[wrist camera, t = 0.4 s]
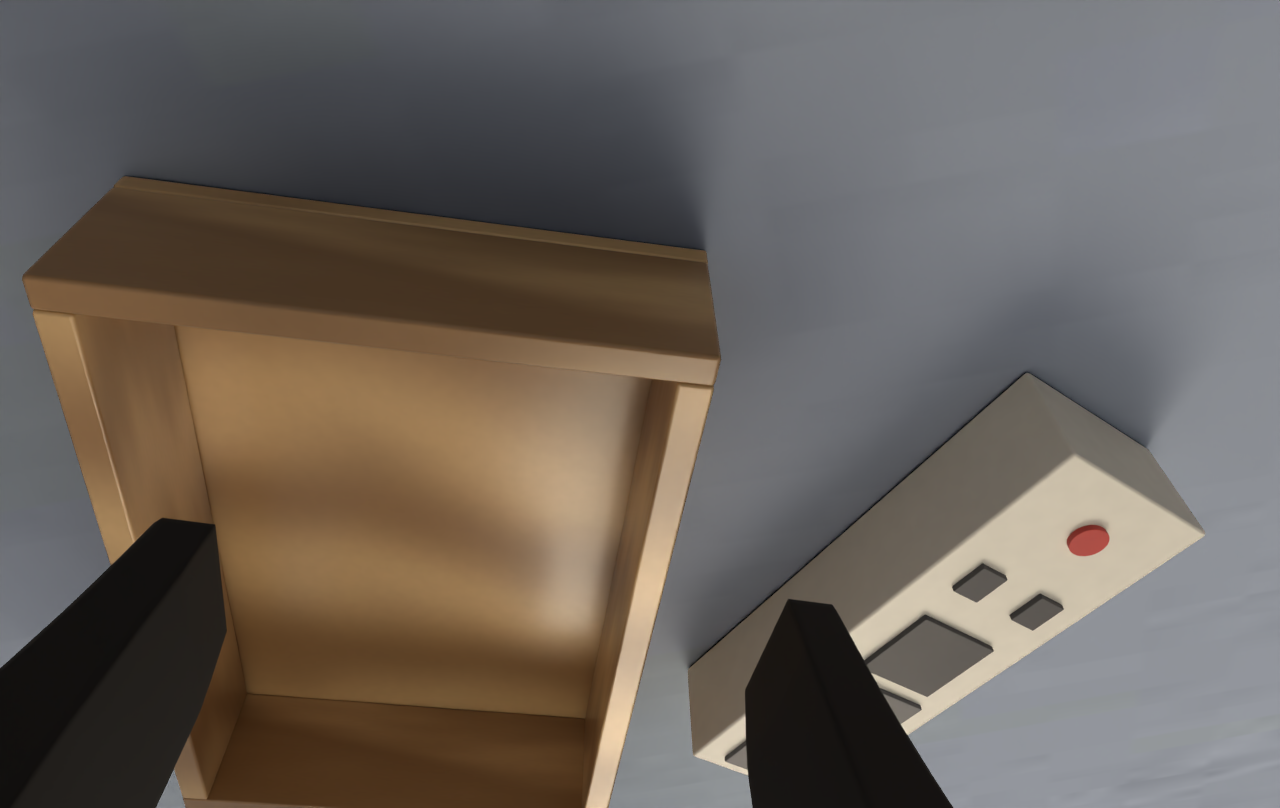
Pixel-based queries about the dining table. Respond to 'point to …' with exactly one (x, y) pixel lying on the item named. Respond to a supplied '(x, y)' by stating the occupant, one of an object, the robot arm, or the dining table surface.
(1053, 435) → the remote
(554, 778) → the tidy box
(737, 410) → the dining table surface
